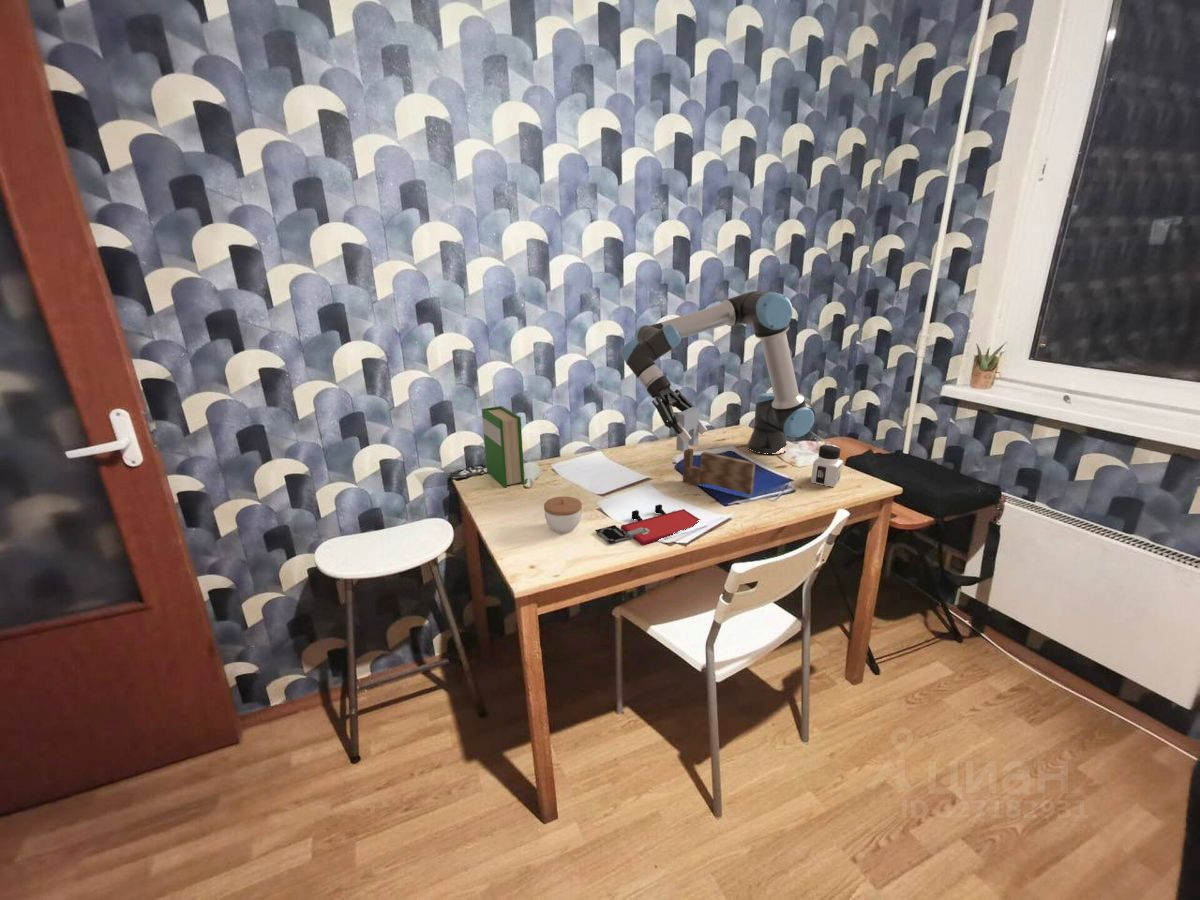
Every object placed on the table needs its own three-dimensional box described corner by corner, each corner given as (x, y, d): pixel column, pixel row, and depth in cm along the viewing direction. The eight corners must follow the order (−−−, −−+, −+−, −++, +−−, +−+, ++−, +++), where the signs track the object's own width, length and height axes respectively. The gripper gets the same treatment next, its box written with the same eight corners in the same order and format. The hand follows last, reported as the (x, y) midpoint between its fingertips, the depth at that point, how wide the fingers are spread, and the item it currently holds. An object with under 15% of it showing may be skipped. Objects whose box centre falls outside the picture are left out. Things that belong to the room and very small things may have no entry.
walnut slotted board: (682, 482, 185) (684, 449, 181) (685, 480, 186) (686, 447, 182) (749, 499, 170) (753, 464, 167) (752, 497, 172) (755, 462, 168)
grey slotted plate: (676, 450, 170) (677, 413, 166) (691, 441, 177) (692, 406, 173) (683, 451, 168) (684, 414, 164) (698, 443, 176) (699, 407, 172)
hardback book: (524, 483, 185) (520, 417, 177) (504, 488, 181) (499, 420, 173) (506, 468, 199) (501, 406, 191) (487, 472, 196) (481, 408, 188)
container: (833, 488, 179) (839, 451, 174) (810, 482, 183) (815, 447, 179) (840, 481, 184) (845, 445, 180) (817, 476, 189) (821, 441, 185)
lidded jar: (537, 528, 153) (535, 498, 150) (565, 516, 160) (564, 488, 157) (561, 541, 146) (560, 510, 143) (590, 528, 153) (589, 498, 150)
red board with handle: (591, 530, 152) (618, 554, 140) (591, 521, 151) (619, 545, 139) (675, 508, 166) (707, 528, 154) (676, 500, 165) (708, 520, 153)
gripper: (665, 383, 184) (704, 434, 180) (628, 395, 167) (670, 452, 164) (679, 369, 179) (720, 421, 176) (643, 381, 163) (686, 439, 159)
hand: (696, 436), depth 170 cm, fingers closed on grey slotted plate, 10 cm apart
